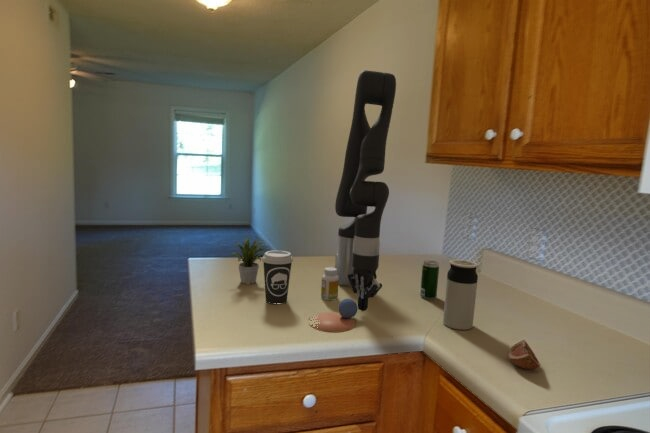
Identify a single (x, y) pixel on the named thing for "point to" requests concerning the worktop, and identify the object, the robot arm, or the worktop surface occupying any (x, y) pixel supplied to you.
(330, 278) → the supplement bottle
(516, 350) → the fruit slice
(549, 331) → the worktop surface
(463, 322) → the travel mug
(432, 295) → the beer can
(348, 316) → the ball
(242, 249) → the house plant
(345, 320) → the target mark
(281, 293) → the coffee cup
